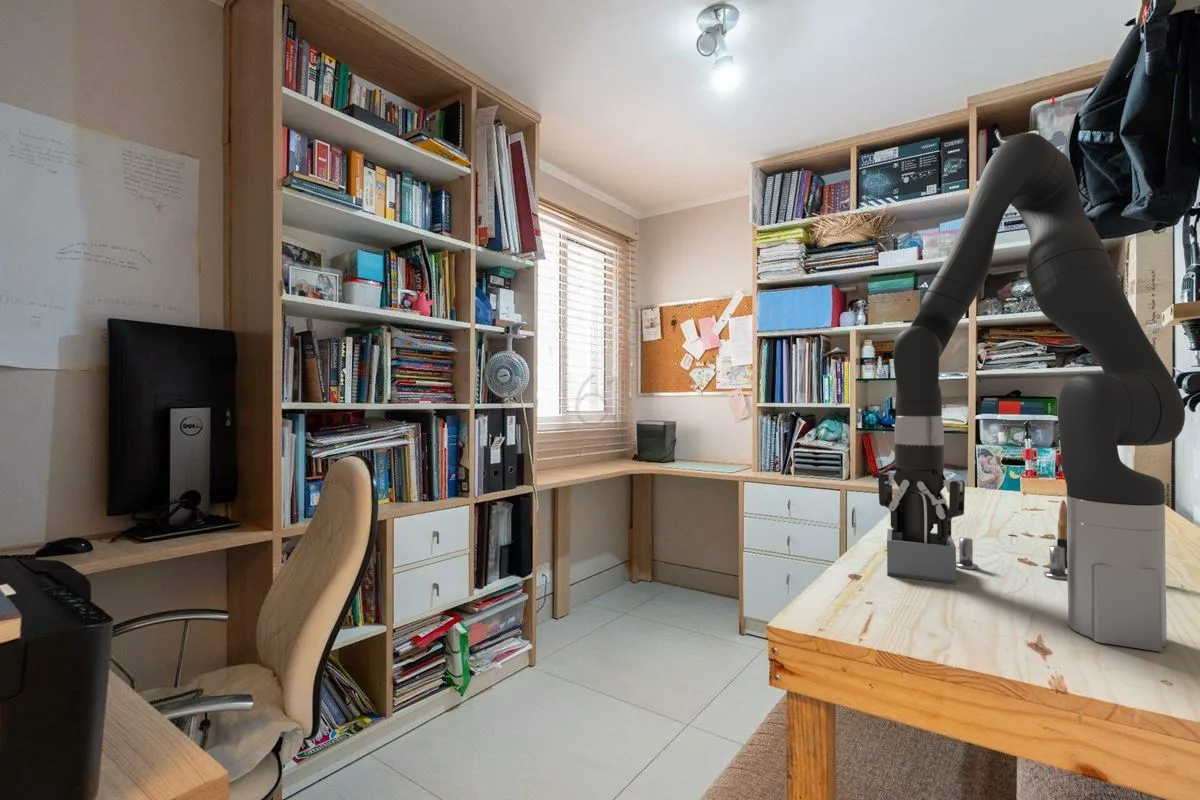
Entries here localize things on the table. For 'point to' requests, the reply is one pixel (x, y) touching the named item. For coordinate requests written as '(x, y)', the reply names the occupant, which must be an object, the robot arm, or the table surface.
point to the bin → (921, 558)
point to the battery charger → (917, 517)
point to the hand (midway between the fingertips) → (919, 535)
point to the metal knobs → (1055, 572)
